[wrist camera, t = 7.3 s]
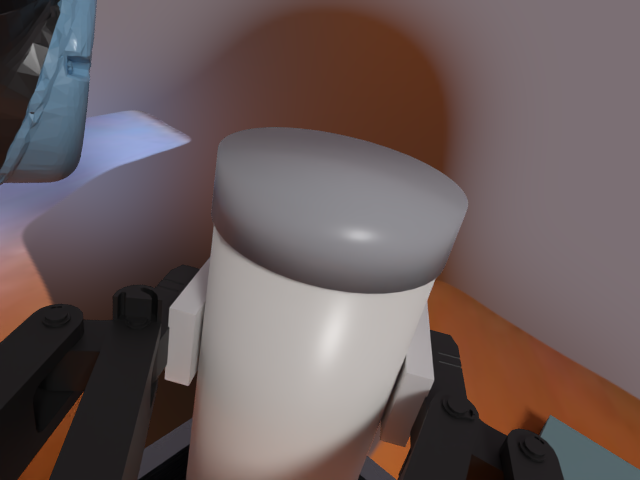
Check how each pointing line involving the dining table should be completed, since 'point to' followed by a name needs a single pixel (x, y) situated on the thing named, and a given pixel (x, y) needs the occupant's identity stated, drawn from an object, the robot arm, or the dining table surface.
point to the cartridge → (311, 299)
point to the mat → (584, 455)
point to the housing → (173, 450)
